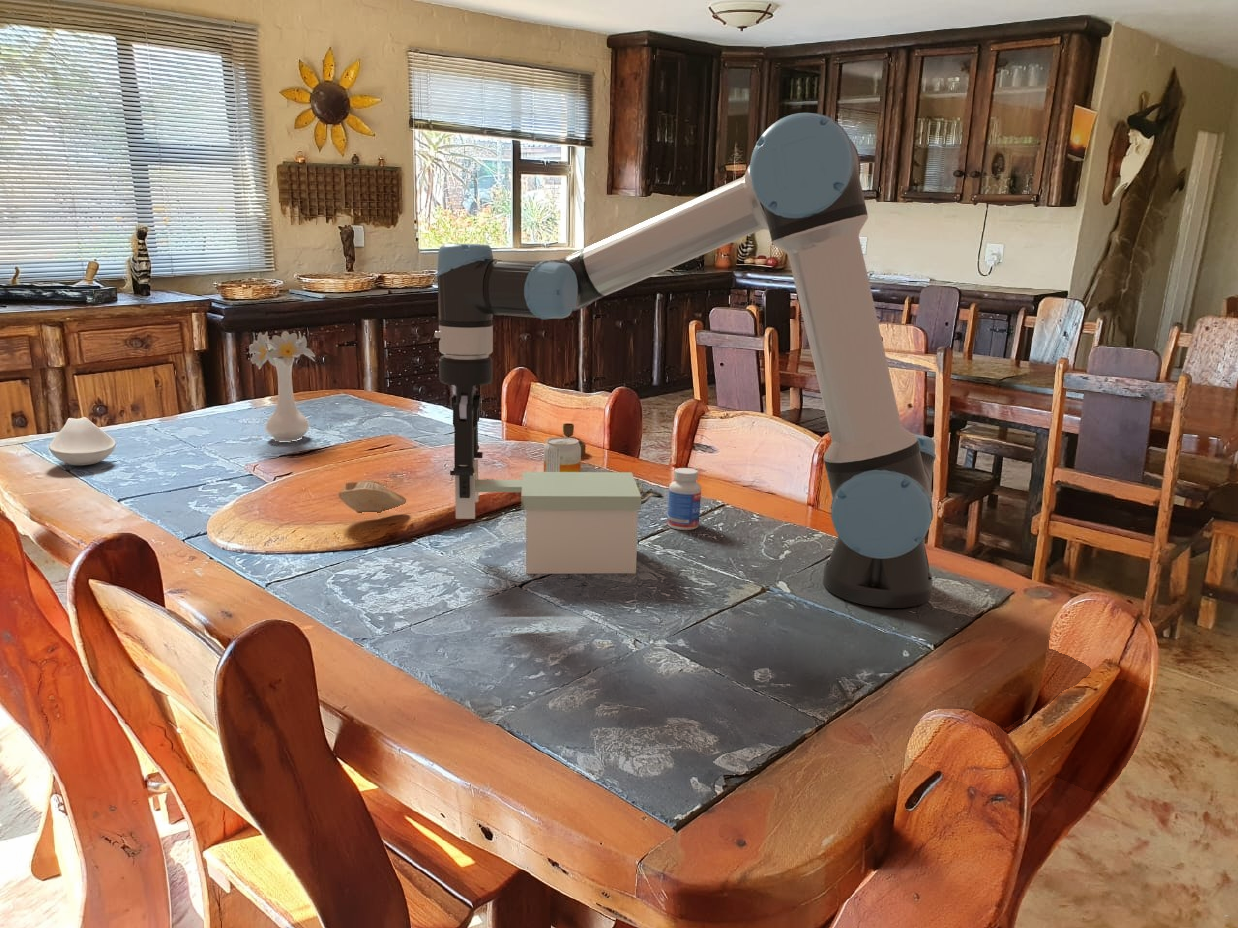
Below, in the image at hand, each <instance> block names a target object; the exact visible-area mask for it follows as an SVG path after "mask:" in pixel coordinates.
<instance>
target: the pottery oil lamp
mask: <svg viewBox="0 0 1238 928" xmlns="http://www.w3.org/2000/svg"><path fill="white" fill-rule="evenodd" d="M337 494H338V498H339V500H340V501H342V503H343V504H345V505H346V506H347V507H349V508H350V509H352V510H353V511H355V512H356V513H357V514H359V513H362V512H377V513H381V512H382V511H385V510H389V509H392V508H395V507H398V506H400V505H403V504H405V503H406V502H407V498H405V497H404V496H402V495H401V494H399V493H397V492H395V491H393V490H390V489H388V488H387V487H386V486H385V485H383V484H382V483H380V482H378V481H374V480H361V481H356V482H355V481H354V482H353V481H350V482H347V483H345V487H344V488H343V489H341V491H340V492H338V493H337ZM381 514H382V513H381Z"/></svg>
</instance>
